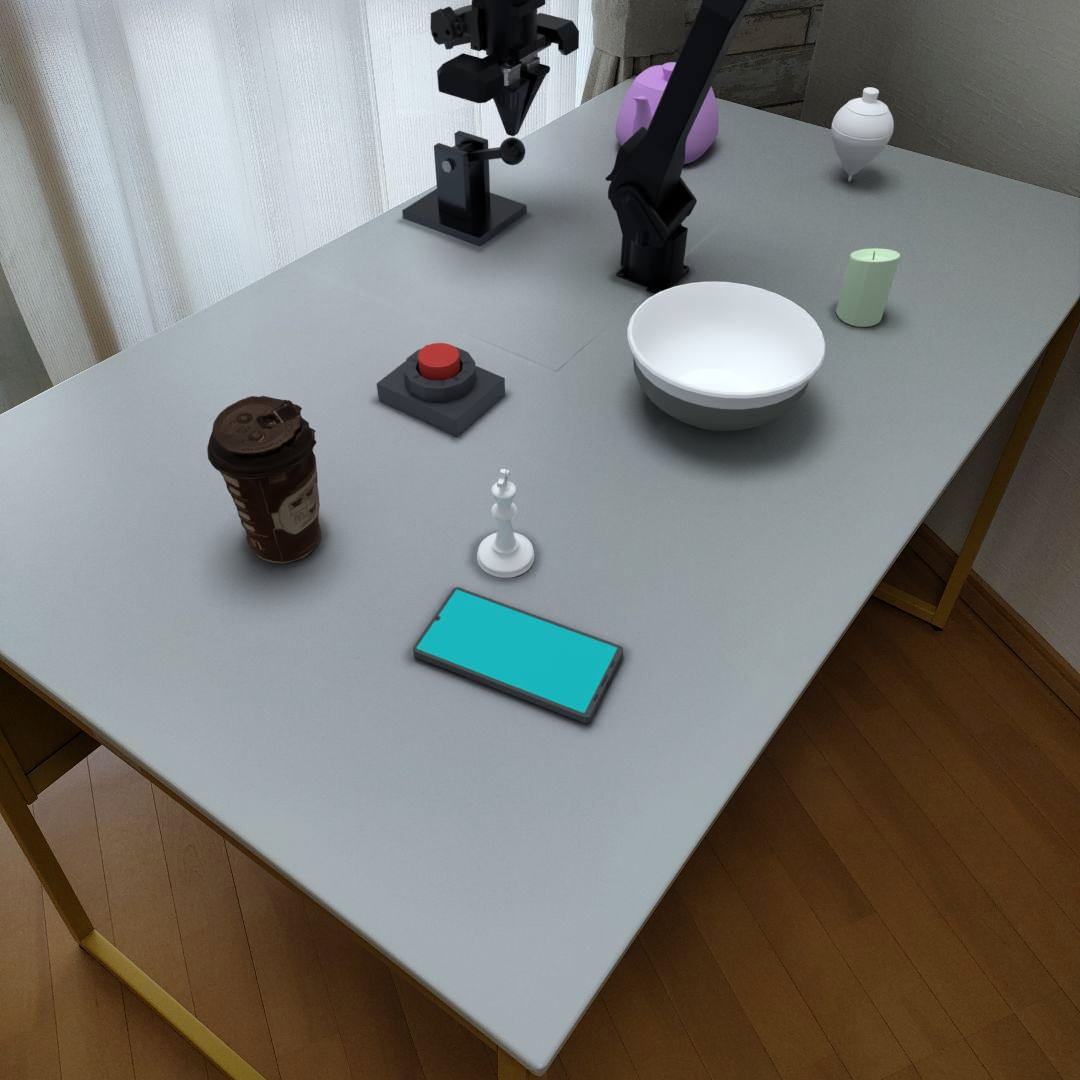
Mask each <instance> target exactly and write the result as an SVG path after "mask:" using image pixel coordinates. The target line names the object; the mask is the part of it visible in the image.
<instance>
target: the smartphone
mask: <svg viewBox="0 0 1080 1080" xmlns="http://www.w3.org/2000/svg"><path fill="white" fill-rule="evenodd" d="M412 652H413V656H414V658H417V659H419V660H421V661H425V662H427V663H429V664H432V665H435V666H437V667H440V668H442V669H445V670H447V671H450V672H453V673H455V674H457V675H460V676H462V677H465V678H467V679H471V680H472V681H476V682H477V683H480V684H484V685H486V686H489V687H491V688H494V689H496V690H498V691H501V692H504V693H506V694H509V695H511V696H514V697H517V698H519V699H522V700H525V701H526V702H529V703H532V704H534V705H537V706H540V707H542V708H545V709H548V710H550V711H552V712H555V713H557V714H560V715H563V716H566V717H567V718H570V719H574V720H576V721H578V722H581V723H583V724H588V723H590V722H591V720H592V718H593V717H594V714H595V713H596V710H597V708H598V706H599V705H600V702H601V701H602V698H603V697H604V694H605V692H606V690H607V688H608V686H609V684H610V682H611V681H612V679H613V676H614V675H615V673H616V670H617V668H618V667H619V664H620V662H621V661H622V658H623V656H624V648H623V646H622V645H620V644H616V643H614V642H611V641H608V640H605V639H603V638H599V637H597V636H594V635H592V634H589V633H586V632H583V631H581V630H577V629H576V628H573V627H569V626H566V625H564V624H562V623H558V622H556V621H552V620H550V619H547V618H545V617H542V616H538V615H536V614H534V613H530V612H528V611H526V610H522V609H519V608H518V607H514V606H511V605H509V604H506V603H503V602H501V601H497V600H494V599H492V598H489V597H487V596H484V595H481V594H478V593H476V592H473V591H470V590H468V589H465V588H462V587H454V588H452V590H451V591H450V593H449V594H448V596H447V597H446V599H445V600H444V602H442V604H441V606H440V608H438V610H437V611H436V613H435V615H434V616H433V617H432V619H430V622H428V625H427V626H426V628H425V629H424V630H423V632H422V634H421V635H420V636H419V637H418V639H417V640H416V642H415V643H414V646H413V647H412Z"/></svg>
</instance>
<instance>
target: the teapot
mask: <svg viewBox="0 0 1080 1080" xmlns="http://www.w3.org/2000/svg"><path fill="white" fill-rule="evenodd" d="M675 64H676V62H673V61H672V62H671V61H669V62H665V63H663V64H657V65H652V66H649V67H648V68H646V69H644V70H643V71H642V72H641V73H639V74H637V76H635V78H634V80H633V82H632V83H631V85H630V87H629V89H628V90H627V92H626V94H625V96H624V98H623V100H622V103H621V105H620V107H619V109H618V114H617V119H616V124H615V130H614V131H615V132H614V133H615V136H616V139H617V141H618V143H619V145H620V147H621V146H622V145H623V144H624V143H625V142H626V141H627V140H628V139H629V138H630V137H631V136H632V135H633V134H634V133H636V132H637V131H638V130H639V129H640V128H641V127H642V126H643V127H644V128H645V129H646V130H647V129H648V127H649V125H650V122H651V120H652V118H653V115H654V113H655V111H656V108H657V106H658V104H659V101H660V99H661V97H662V94H663V92H664V90H665V87H666V85H667V83H668V80H669V78H670V76H671V73H672V71H673V69H674V66H675ZM712 86H713V85H711V88H710V90H709V92H708V94H707V96H706V98H705V100H704V102H703V105H702V107H701V109H700V111H699V113H698V115H697V117H696V120H695V122H694V124H693V126H692V128H691V130H690V132H689V134H688V137H687V140H686V148H685V162H684V165H686V164H690V163H693V162H695V161H696V160H698V159H699V158H700V157H702V155H704V154H705V153H706V152H707V151H708V149H709V148H710V147H711V145H712V144H714V142H715V140H716V138H717V136H718V133H719V109H718V104H717V99H716V95H715V92H714V89H713V87H712Z"/></svg>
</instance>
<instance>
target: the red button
mask: <svg viewBox="0 0 1080 1080" xmlns="http://www.w3.org/2000/svg"><path fill="white" fill-rule="evenodd" d="M426 345H427V346H426ZM426 345H424V346H425V347H424V346H423V347H422V348H420V349H421V350H420V351H419V353H418V362H419V371H420V374H421V375H422V376H423V377H424V378H427V379H429V380H446V379H449V378H453V377H455V376H456V375H457V374H458V373H459V371H460V359H459V352H458V350H457V349H456V348H455V347H456V346H455V347H454V345H452V344H450V343H445V342H434V343H429V344H426Z"/></svg>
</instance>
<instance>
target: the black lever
mask: <svg viewBox="0 0 1080 1080" xmlns="http://www.w3.org/2000/svg"><path fill="white" fill-rule="evenodd" d="M452 147H453V148H456V149H459V150H462V151H465V152H468V166H469V169H470V168H471V167H473V166H474V165H476V164H477V163H479V162H478V161H481V160H489V161H491V160H497V159H498V160H499V159H501V160H502V162H503V163H504V164H506V165H509V166H516V165H519V164H521V162H522V161H523V160H524V158H525V156H526V147H525V145H524V143H523V141H522V140H521V139H520V138H517V137H515V136H510V137H507V138H506V139H504V140H503V141H502V142H501V144H500V146H498V147H488V149H480V150H475V149H474V146H473V143H467V144H460V145H455V144H454V145H453V146H452Z"/></svg>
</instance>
